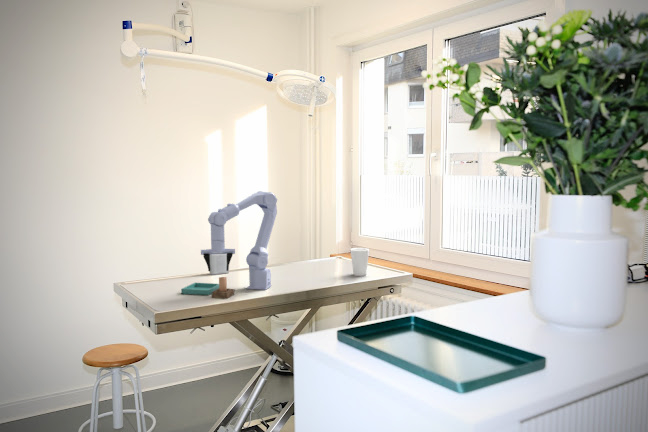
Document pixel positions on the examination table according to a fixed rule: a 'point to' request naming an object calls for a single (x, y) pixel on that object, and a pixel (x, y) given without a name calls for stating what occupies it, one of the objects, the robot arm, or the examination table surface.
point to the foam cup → (359, 260)
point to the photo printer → (218, 264)
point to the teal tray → (200, 288)
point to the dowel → (223, 284)
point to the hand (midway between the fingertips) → (218, 270)
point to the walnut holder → (222, 293)
